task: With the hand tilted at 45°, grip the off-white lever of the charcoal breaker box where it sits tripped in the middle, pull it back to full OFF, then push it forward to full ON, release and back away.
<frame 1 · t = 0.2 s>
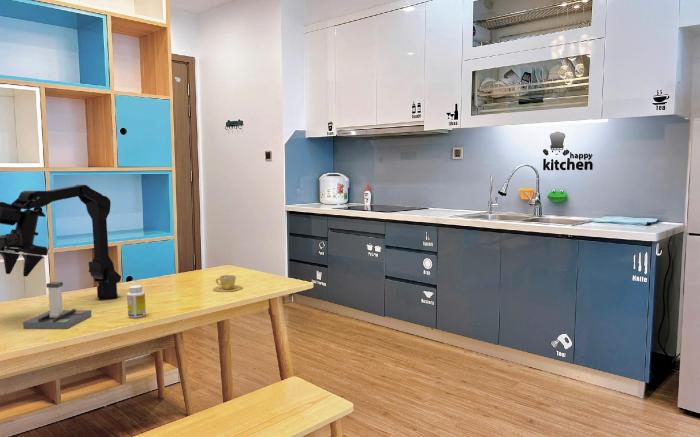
hand: (16, 275, 167), 15 cm above the table, tool tilted 15°, fingers open, 9 cm apart
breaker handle: (55, 299, 165), point 8 cm above the table, slide at 3.4 cm
supplement bottle: (137, 316, 173), on the table
cup: (227, 289, 212), on the table
breaker box: (57, 323, 166), on the table
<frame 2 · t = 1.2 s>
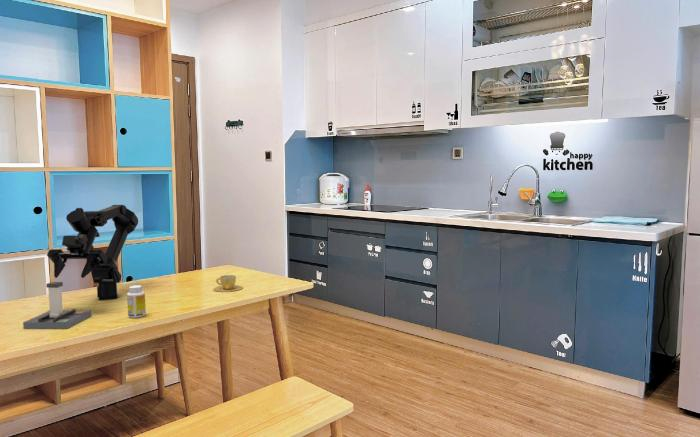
hand: (68, 277, 172), 13 cm above the table, tool tilted 45°, fingers open, 9 cm apart
nothing on the table moved.
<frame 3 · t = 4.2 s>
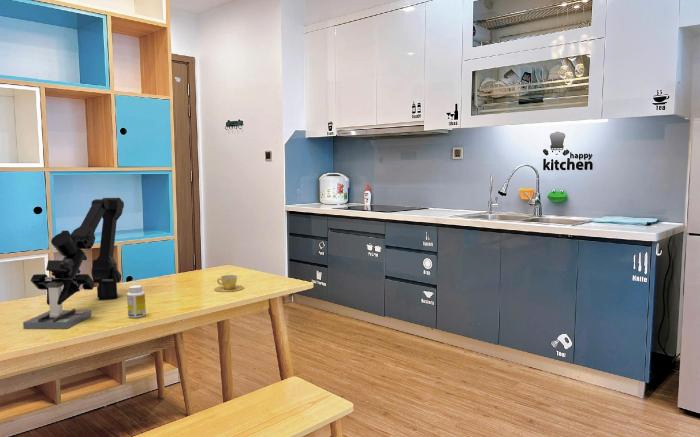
hand: (53, 304, 164), 7 cm above the table, tool tilted 45°, fingers closed on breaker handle, 3 cm apart
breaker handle: (55, 299, 165), point 8 cm above the table, slide at 3.4 cm, touching gripper
everything else where it was.
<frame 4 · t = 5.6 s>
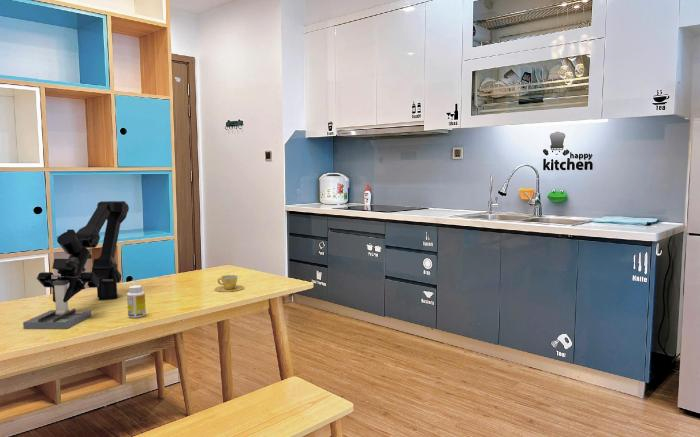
hand: (59, 301, 167), 7 cm above the table, tool tilted 45°, fingers closed on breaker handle, 3 cm apart
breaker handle: (61, 297, 168), point 8 cm above the table, slide at 0.2 cm, touching gripper
everything else where it was.
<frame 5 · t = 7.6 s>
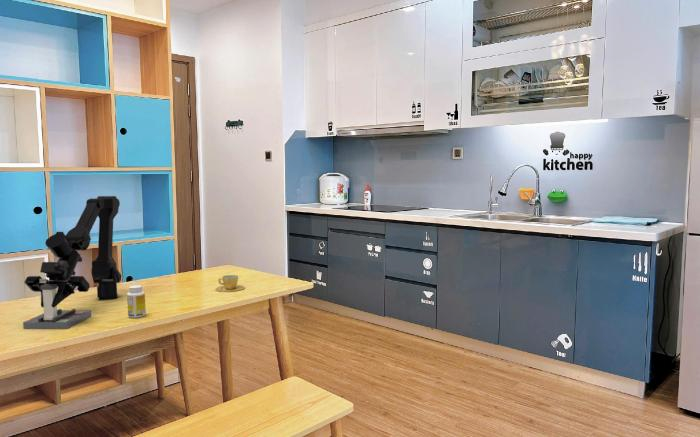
hand: (47, 306, 161), 7 cm above the table, tool tilted 45°, fingers closed on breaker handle, 3 cm apart
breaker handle: (49, 301, 162), point 8 cm above the table, slide at 6.4 cm, touching gripper
everything else where it was.
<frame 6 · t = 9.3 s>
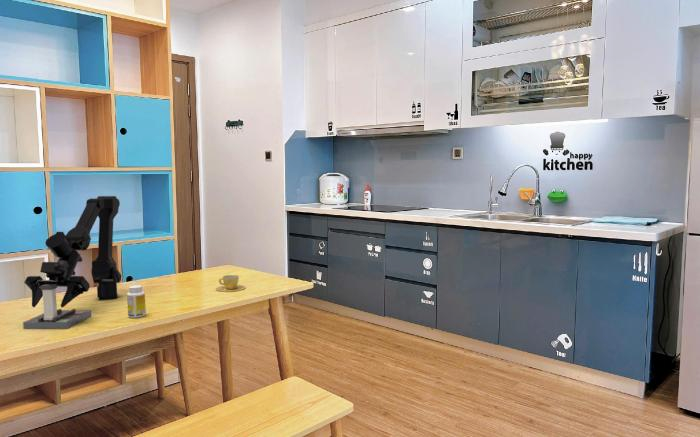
hand: (47, 306, 161), 7 cm above the table, tool tilted 45°, fingers open, 9 cm apart
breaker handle: (49, 301, 162), point 8 cm above the table, slide at 6.4 cm
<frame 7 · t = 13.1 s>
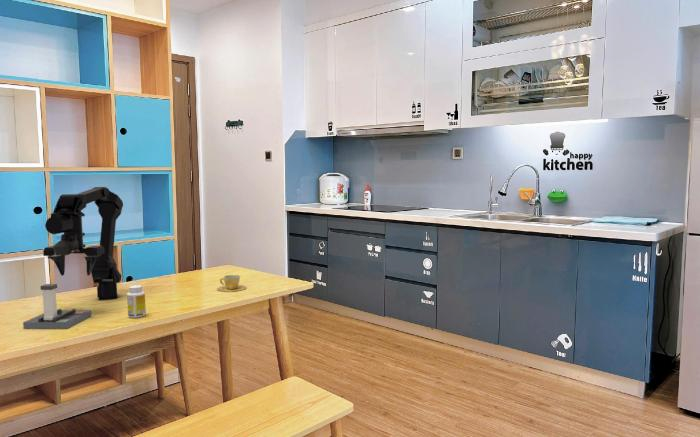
hand: (75, 275, 177), 13 cm above the table, tool pointing down, fingers open, 9 cm apart
at the end: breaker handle slide at 6.4 cm; the gripper is holding nothing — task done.
